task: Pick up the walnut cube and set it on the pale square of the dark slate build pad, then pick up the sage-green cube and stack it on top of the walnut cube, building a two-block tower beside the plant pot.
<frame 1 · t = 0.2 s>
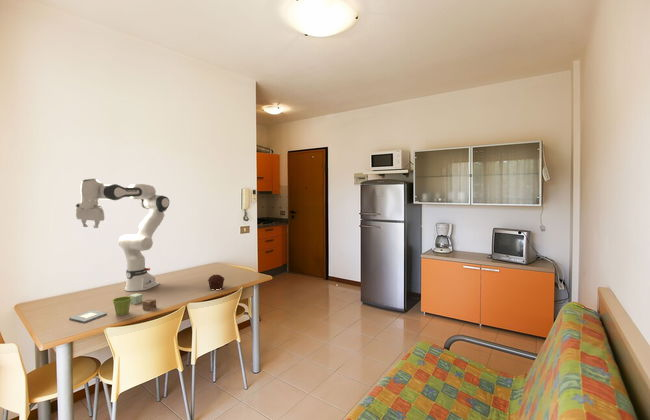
hand: (90, 227, 191), 48 cm above the table, fingers open, 8 cm apart
build pad: (88, 317, 173), on the table
plant pot: (122, 314, 178), on the table
block b: (135, 302, 196), on the table
muffin: (216, 288, 226), on the table
block a: (149, 308, 187), on the table
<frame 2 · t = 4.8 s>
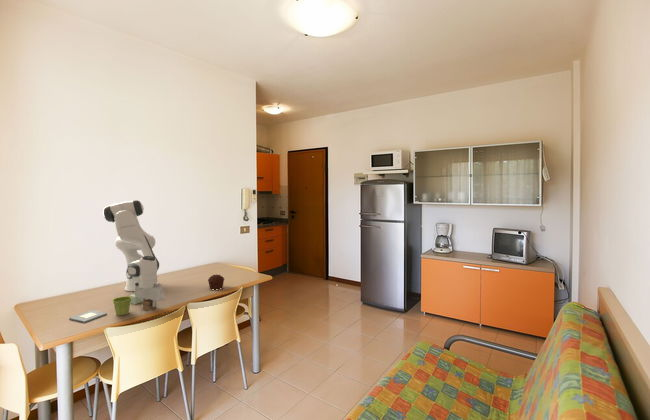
hand: (149, 305, 187), 2 cm above the table, fingers closed on block a, 5 cm apart
block a: (149, 308, 187), on the table, touching gripper
everything else where it was.
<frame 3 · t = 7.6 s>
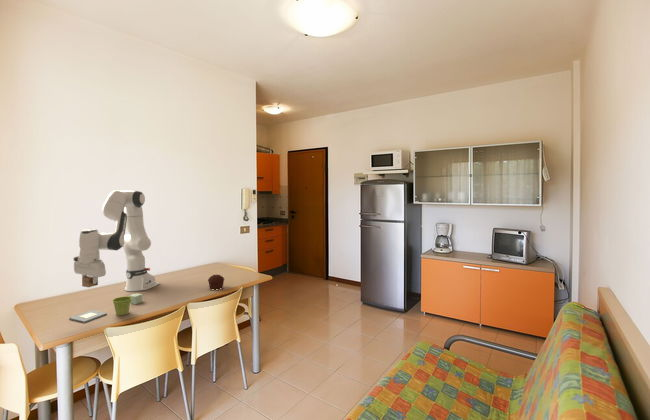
hand: (90, 282, 172), 19 cm above the table, fingers closed on block a, 5 cm apart
block a: (90, 285, 172), point 18 cm above the table, touching gripper
everything else where it was.
when the fingers open (4 cm above the table, at t = 10.7 s): block a drops 1 cm, resting on build pad.
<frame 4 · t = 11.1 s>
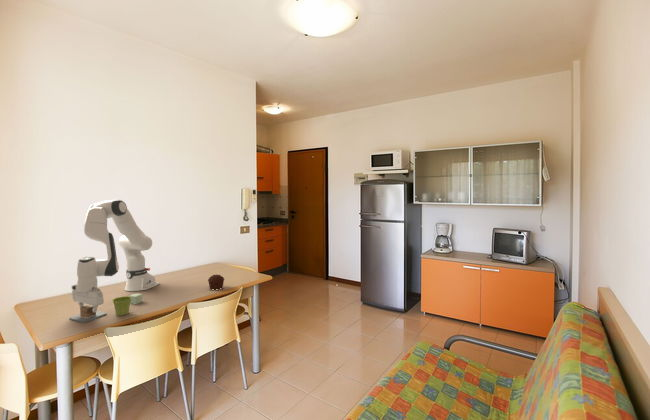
hand: (88, 310, 173), 4 cm above the table, fingers open, 8 cm apart
block a: (88, 315, 173), point 1 cm above the table, touching build pad
everything else where it was.
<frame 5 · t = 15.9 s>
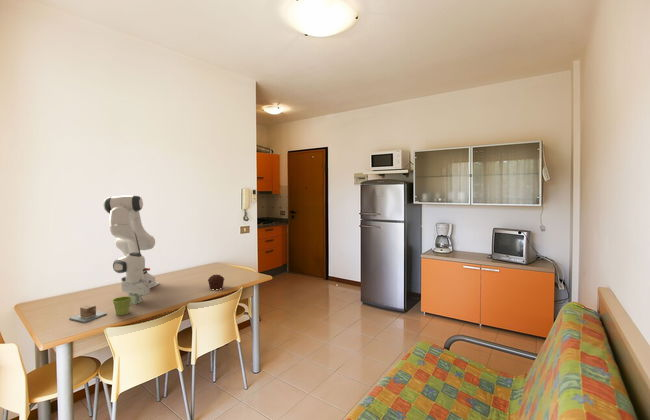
hand: (135, 299, 196), 2 cm above the table, fingers closed on block b, 5 cm apart
block b: (136, 302, 196), on the table, touching gripper
everything else where it was.
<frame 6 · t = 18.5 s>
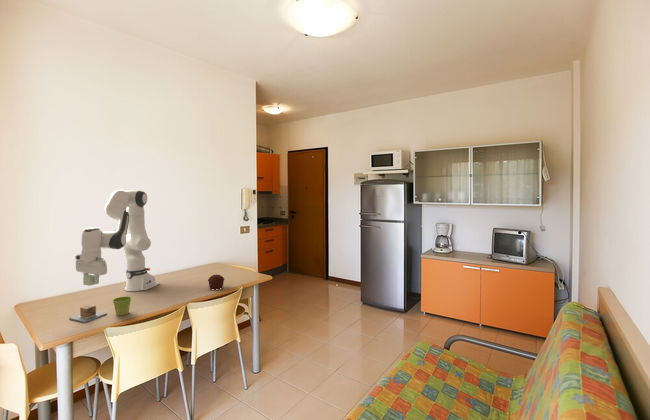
hand: (91, 281, 173), 20 cm above the table, fingers closed on block b, 5 cm apart
block b: (91, 283, 173), point 19 cm above the table, touching gripper
everything else where it was.
when the fingers open (9 cm above the table, at t = 21.2 s): block b stays where it is, resting on block a.
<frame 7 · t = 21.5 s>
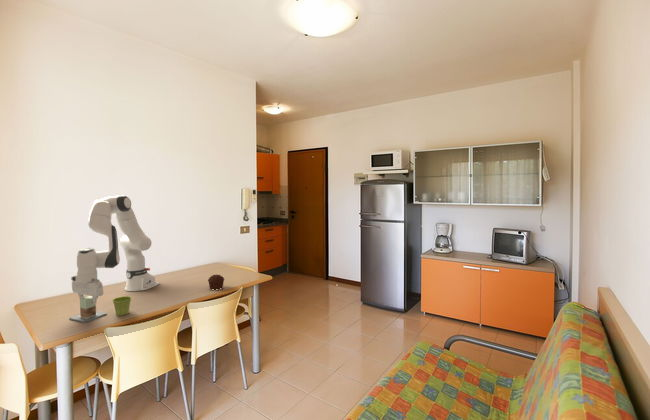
hand: (88, 302, 172), 9 cm above the table, fingers open, 8 cm apart
block b: (87, 306, 172), point 6 cm above the table, touching block a
block a: (88, 315, 173), point 1 cm above the table, touching block b, build pad
everything else where it was.
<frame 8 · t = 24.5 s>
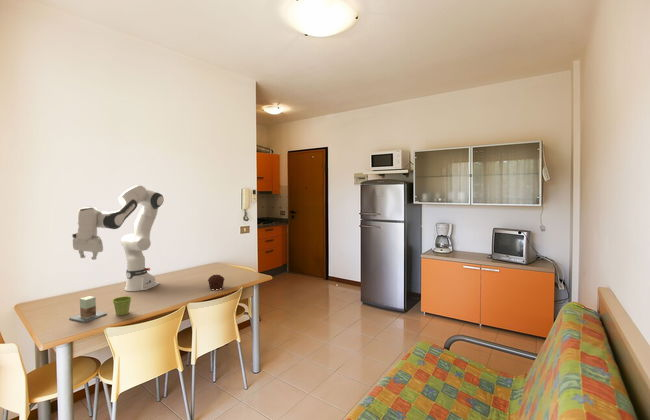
hand: (88, 258, 179), 31 cm above the table, fingers open, 8 cm apart
nothing on the table moved.
at the end: block a 0.0 cm off-centre on the build pad, point 1.0 cm above the build pad's base; block b 0.1 cm off-centre on the block a, point 5.0 cm above the block a's base; the gripper is holding nothing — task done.
